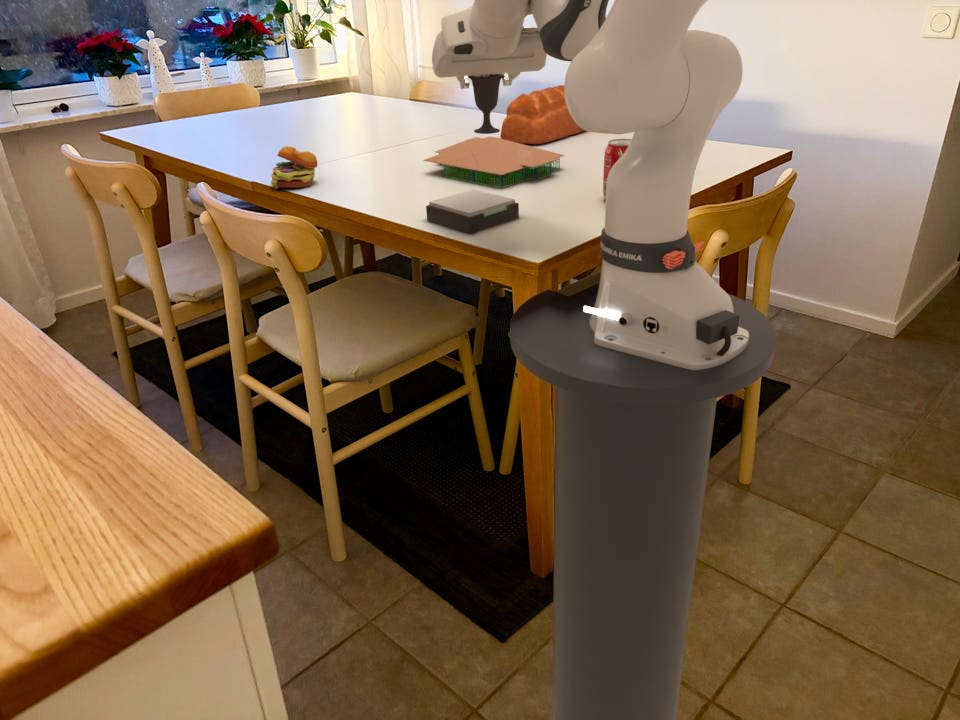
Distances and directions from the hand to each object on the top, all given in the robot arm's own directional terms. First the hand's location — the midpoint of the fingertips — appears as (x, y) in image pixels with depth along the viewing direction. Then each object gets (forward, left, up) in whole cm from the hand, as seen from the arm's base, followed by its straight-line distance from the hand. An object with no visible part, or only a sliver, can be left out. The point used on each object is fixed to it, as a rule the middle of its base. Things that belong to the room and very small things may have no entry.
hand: (485, 84), depth 137 cm
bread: (+46, -68, -25) cm, 86 cm away
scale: (+1, +4, -25) cm, 25 cm away
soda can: (-13, -25, -25) cm, 38 cm away
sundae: (-1, 0, -9) cm, 9 cm away
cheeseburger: (+55, +12, -25) cm, 62 cm away
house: (+27, -26, -25) cm, 46 cm away
